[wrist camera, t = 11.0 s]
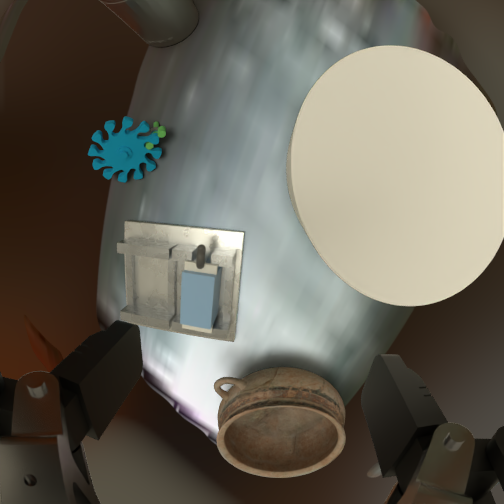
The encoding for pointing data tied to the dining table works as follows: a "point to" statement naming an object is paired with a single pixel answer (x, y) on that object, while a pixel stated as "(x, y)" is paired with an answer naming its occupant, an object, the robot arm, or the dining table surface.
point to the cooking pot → (280, 422)
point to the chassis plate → (177, 274)
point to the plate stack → (399, 175)
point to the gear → (127, 148)
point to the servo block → (200, 293)
